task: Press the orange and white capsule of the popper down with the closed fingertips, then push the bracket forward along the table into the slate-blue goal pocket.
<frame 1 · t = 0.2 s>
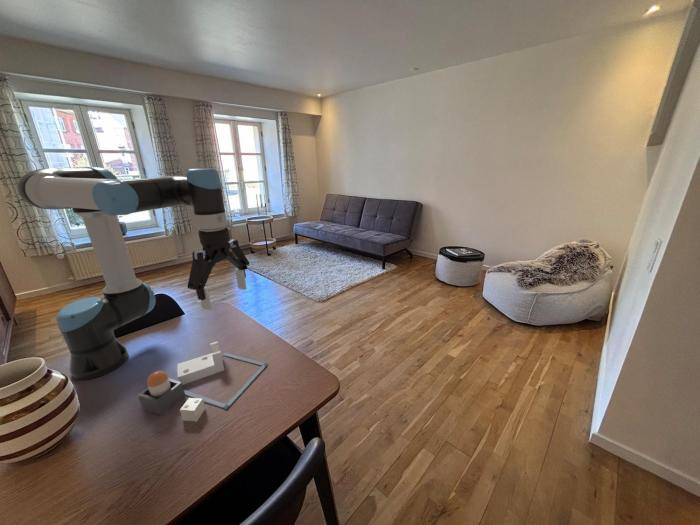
hand: (226, 298, 83), 28 cm above the table, fingers open, 13 cm apart
goal pocket: (225, 377, 90), on the table
bracket: (202, 372, 94), on the table
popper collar: (164, 401, 82), on the table
orange and white capsule: (158, 383, 79), point 7 cm above the table, slide at 0.0 cm
die: (194, 415, 78), on the table
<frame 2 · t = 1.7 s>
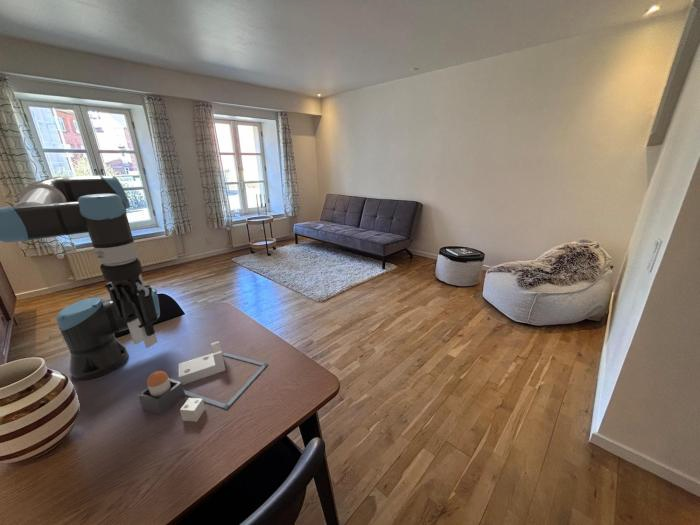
hand: (145, 342, 75), 21 cm above the table, fingers open, 4 cm apart
nothing on the table moved.
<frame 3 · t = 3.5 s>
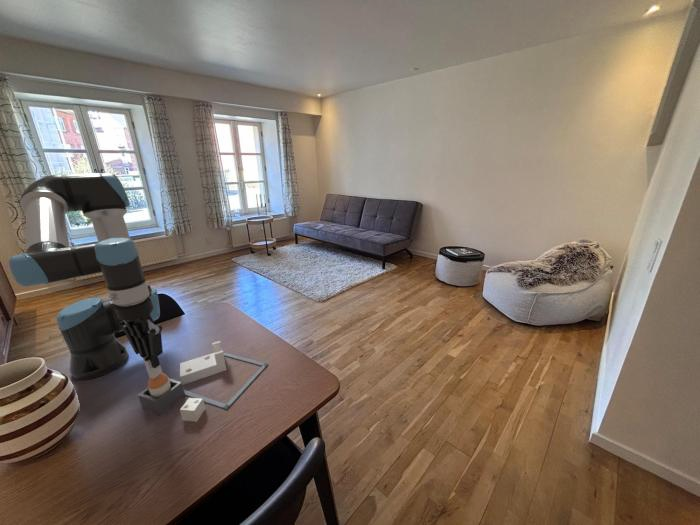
hand: (156, 375, 78), 10 cm above the table, fingers closed
orange and white capsule: (159, 385, 80), point 6 cm above the table, slide at 0.8 cm, touching gripper
everything else where it was.
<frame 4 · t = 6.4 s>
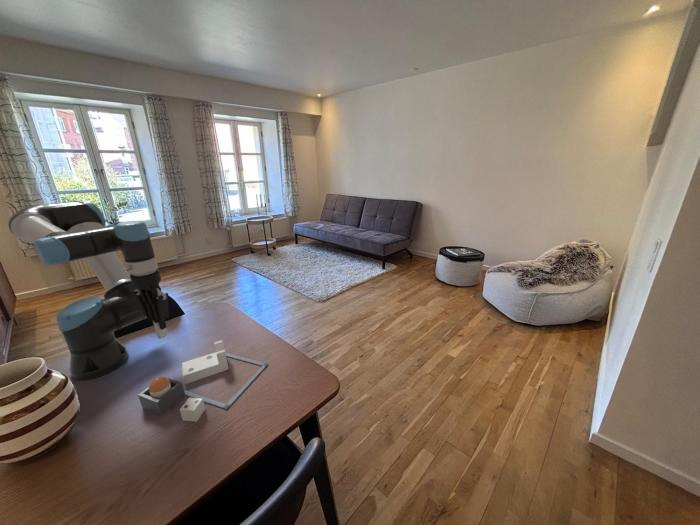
hand: (163, 336, 95), 11 cm above the table, fingers closed
orange and white capsule: (160, 389, 80), point 5 cm above the table, slide at 2.0 cm
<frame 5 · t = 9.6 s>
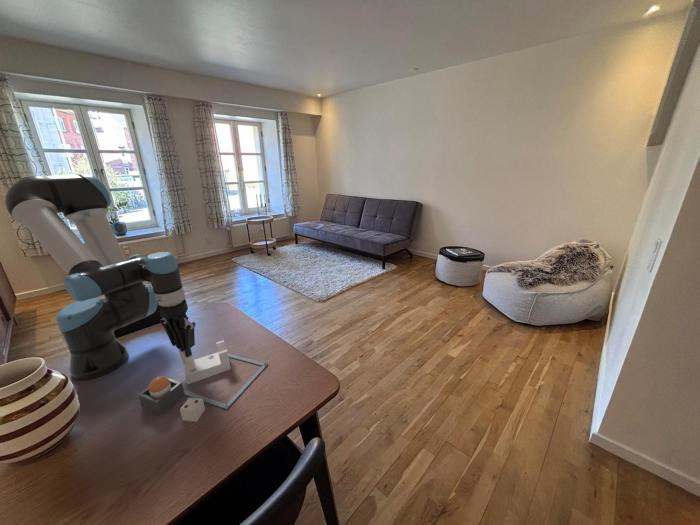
hand: (188, 363, 95), 2 cm above the table, fingers closed
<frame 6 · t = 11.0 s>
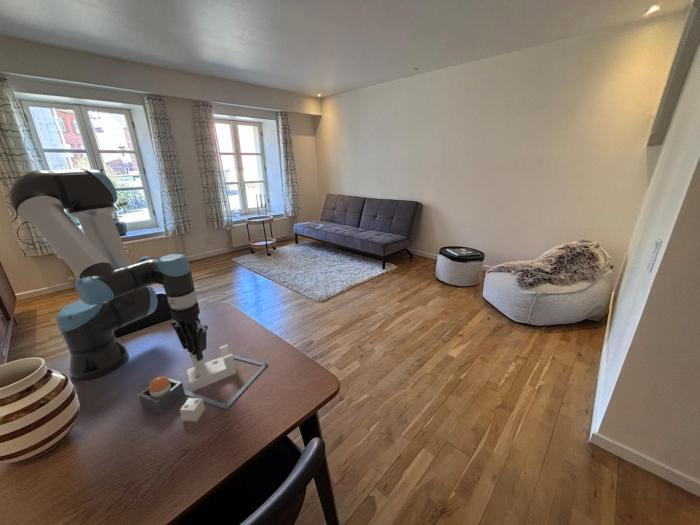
hand: (199, 366, 93), 1 cm above the table, fingers closed
bracket: (213, 376, 92), on the table
everything else where it was.
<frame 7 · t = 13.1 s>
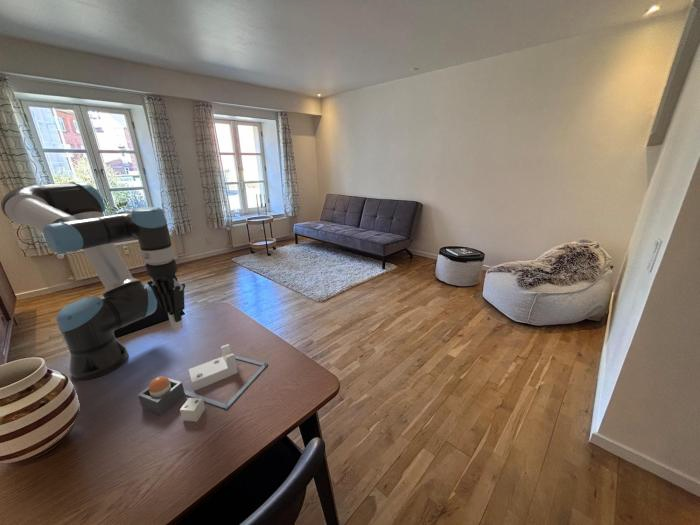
hand: (177, 329, 91), 15 cm above the table, fingers closed
nothing on the table moved.
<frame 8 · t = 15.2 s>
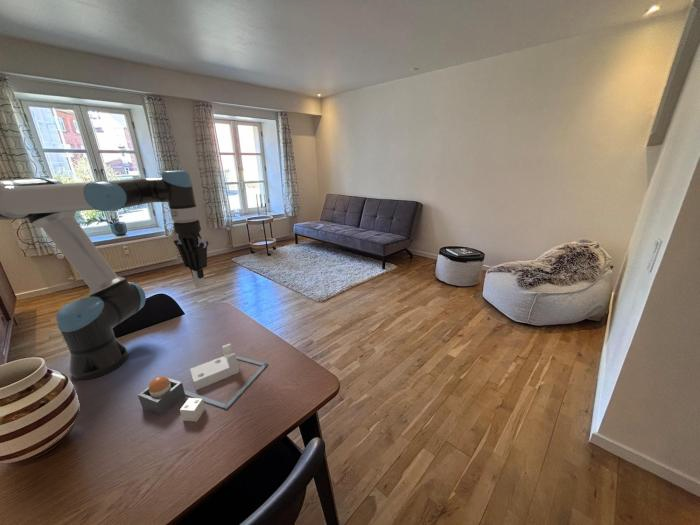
hand: (200, 285, 99), 24 cm above the table, fingers closed
nothing on the table moved.
at the end: orange and white capsule slide at 2.0 cm; bracket inside the target area (4.5 cm from its centre), on the table; bracket tilted 0° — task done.
